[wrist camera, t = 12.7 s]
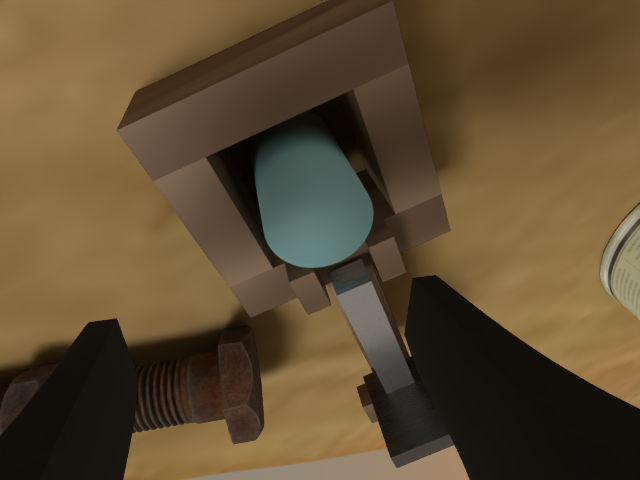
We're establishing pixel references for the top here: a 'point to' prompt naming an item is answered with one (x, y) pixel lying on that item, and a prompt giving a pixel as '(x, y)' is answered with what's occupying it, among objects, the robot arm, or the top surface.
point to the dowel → (308, 193)
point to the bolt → (179, 389)
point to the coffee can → (624, 263)
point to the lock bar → (390, 373)
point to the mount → (273, 108)
